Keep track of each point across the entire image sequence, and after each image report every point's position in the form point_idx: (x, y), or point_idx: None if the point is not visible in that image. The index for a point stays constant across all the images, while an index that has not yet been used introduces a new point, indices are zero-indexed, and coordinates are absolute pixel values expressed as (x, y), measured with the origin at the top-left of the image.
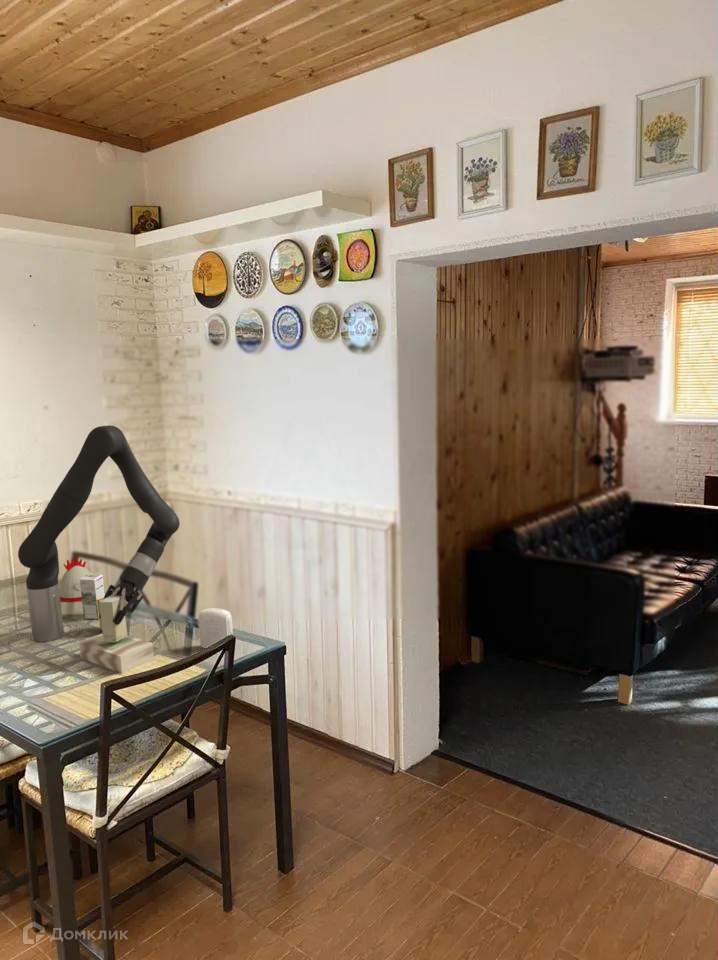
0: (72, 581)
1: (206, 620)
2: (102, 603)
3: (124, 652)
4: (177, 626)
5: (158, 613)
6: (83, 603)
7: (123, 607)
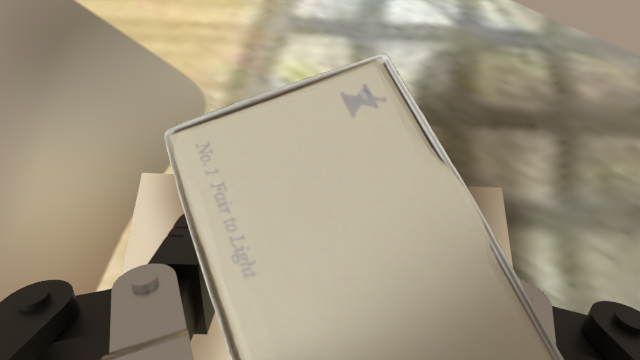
0: None
1: None
2: (328, 79)
3: (159, 216)
4: None
5: None
6: None
7: (111, 294)
